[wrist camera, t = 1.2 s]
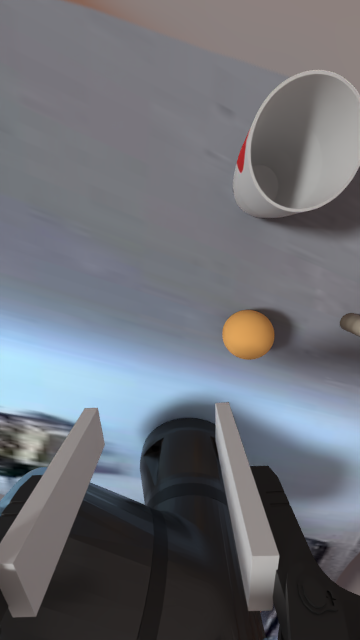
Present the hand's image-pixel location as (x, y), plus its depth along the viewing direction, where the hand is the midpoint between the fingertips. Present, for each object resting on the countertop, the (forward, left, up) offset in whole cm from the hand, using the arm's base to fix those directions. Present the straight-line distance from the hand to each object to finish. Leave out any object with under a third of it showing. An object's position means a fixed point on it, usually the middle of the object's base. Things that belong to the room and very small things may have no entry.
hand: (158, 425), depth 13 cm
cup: (+16, -11, -17) cm, 26 cm away
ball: (0, -9, -14) cm, 17 cm away
